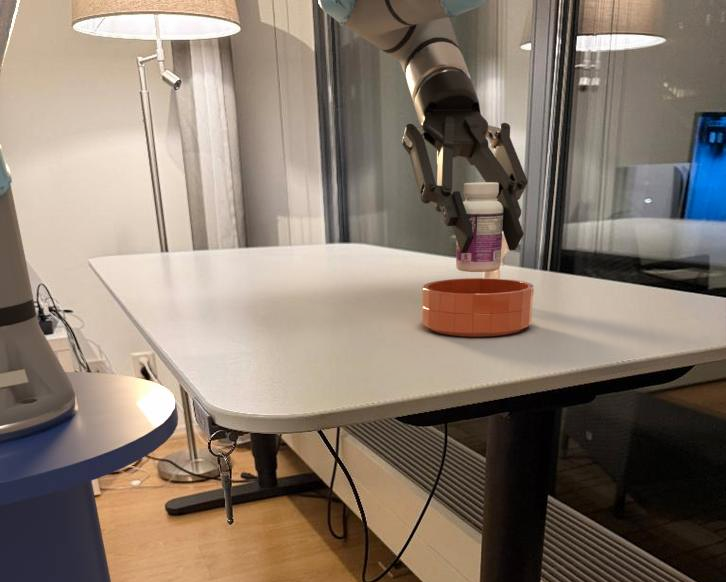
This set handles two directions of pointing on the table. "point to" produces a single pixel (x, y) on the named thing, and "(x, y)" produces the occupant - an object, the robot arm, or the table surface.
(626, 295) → the table surface
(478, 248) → the pill bottle
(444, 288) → the bowl
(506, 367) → the table surface
